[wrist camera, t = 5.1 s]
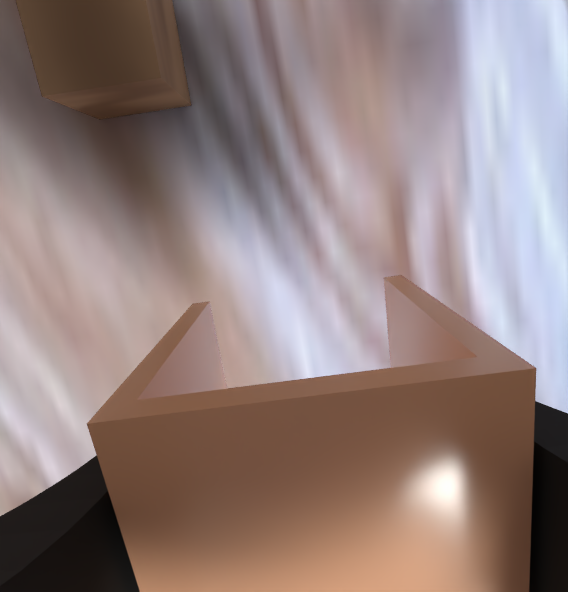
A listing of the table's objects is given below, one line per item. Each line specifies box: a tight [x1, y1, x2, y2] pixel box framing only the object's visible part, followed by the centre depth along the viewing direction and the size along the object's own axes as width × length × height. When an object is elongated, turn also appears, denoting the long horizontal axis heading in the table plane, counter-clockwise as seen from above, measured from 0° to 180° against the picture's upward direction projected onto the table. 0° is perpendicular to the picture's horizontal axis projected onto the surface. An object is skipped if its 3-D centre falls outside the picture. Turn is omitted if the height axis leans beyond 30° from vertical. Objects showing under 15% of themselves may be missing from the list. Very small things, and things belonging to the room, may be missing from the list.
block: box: [16, 0, 191, 119], centre depth 14 cm, size 4×4×4 cm
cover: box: [87, 275, 536, 592], centre depth 9 cm, size 6×6×6 cm
